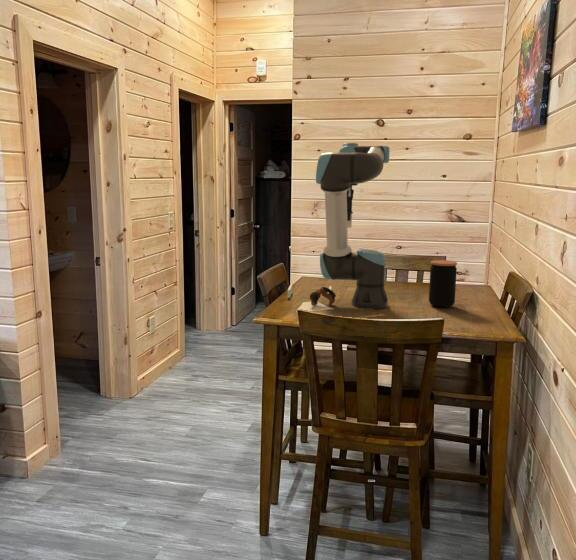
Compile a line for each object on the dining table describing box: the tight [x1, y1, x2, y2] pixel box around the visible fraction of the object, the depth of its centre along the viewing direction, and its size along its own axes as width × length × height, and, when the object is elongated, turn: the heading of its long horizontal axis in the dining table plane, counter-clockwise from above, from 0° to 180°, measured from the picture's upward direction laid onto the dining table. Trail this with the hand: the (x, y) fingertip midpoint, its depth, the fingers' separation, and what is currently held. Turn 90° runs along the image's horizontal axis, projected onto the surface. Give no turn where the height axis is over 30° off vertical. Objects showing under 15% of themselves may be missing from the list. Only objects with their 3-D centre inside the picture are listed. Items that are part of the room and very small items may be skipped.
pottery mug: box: [309, 286, 337, 307], centre depth 228 cm, size 12×9×8 cm
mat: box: [296, 301, 334, 313], centre depth 225 cm, size 16×16×1 cm
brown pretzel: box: [287, 284, 332, 299], centre depth 245 cm, size 12×19×4 cm, turn 85°
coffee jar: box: [428, 259, 458, 308], centre depth 229 cm, size 11×11×18 cm
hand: (348, 227), depth 260 cm, fingers closed
